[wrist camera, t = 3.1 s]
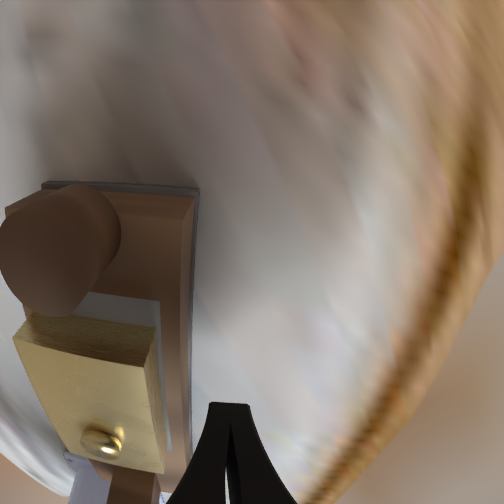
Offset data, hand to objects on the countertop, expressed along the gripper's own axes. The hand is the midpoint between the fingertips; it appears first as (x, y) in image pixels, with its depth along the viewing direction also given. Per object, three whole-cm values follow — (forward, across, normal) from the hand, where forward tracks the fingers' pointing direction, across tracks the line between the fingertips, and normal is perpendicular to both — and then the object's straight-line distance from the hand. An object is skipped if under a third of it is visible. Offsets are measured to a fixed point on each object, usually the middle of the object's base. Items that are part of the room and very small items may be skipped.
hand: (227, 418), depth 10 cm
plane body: (+4, +5, +2) cm, 6 cm away
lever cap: (+1, +5, 0) cm, 5 cm away
